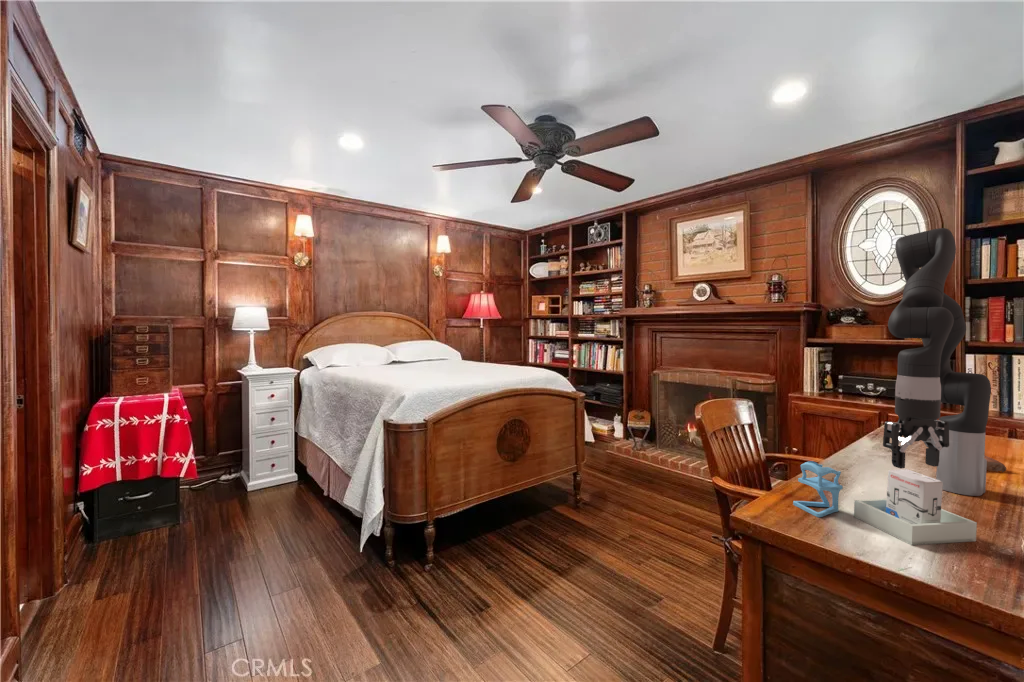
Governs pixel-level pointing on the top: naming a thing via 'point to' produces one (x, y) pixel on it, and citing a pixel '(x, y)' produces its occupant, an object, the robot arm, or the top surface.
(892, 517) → the celadon dish
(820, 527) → the top surface
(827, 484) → the chair
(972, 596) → the top surface
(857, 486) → the top surface
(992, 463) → the ceramic shard
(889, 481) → the ink box
